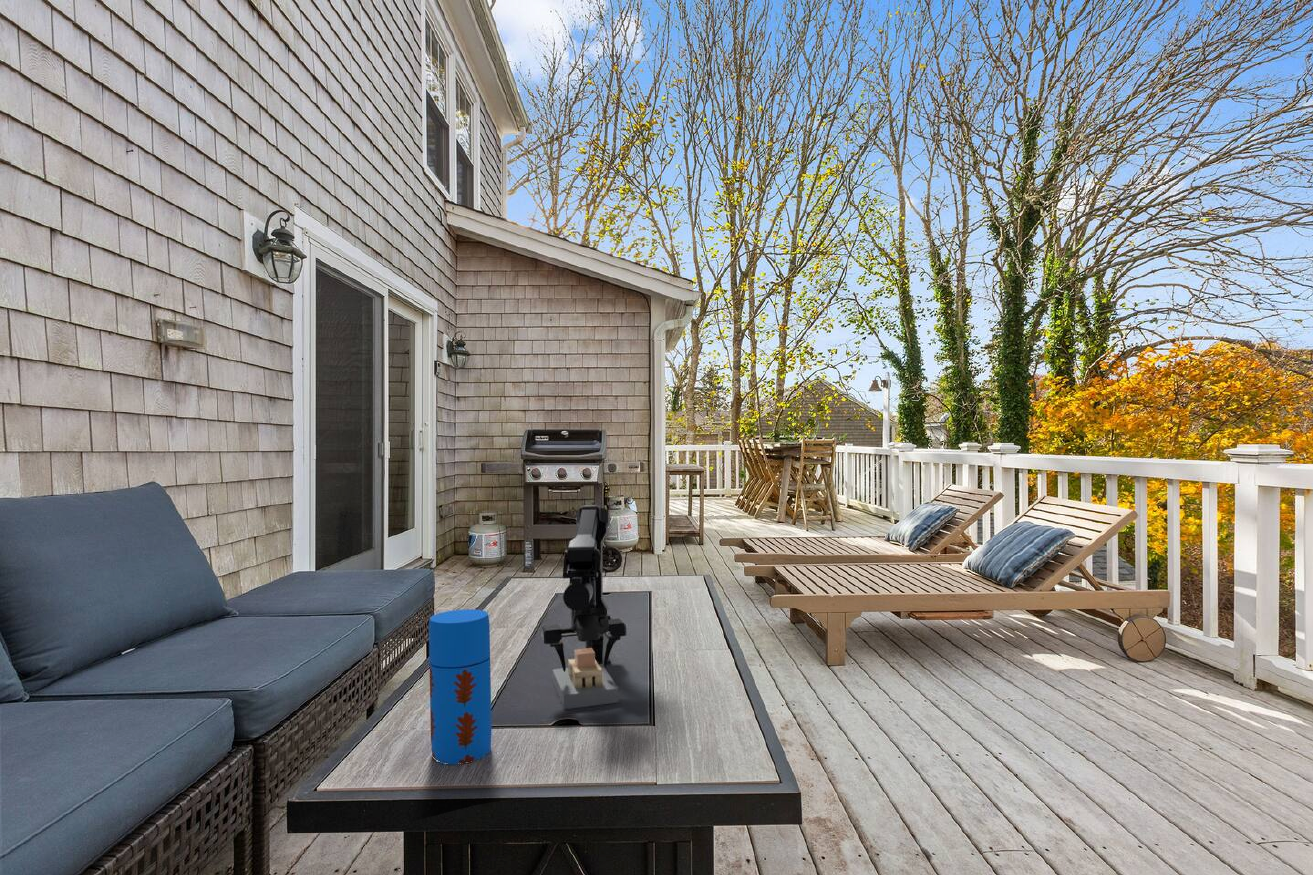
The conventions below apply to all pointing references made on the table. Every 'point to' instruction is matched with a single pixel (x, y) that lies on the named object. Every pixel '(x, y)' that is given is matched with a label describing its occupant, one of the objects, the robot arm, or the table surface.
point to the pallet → (584, 674)
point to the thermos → (460, 685)
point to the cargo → (584, 657)
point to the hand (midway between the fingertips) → (584, 668)
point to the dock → (584, 690)
